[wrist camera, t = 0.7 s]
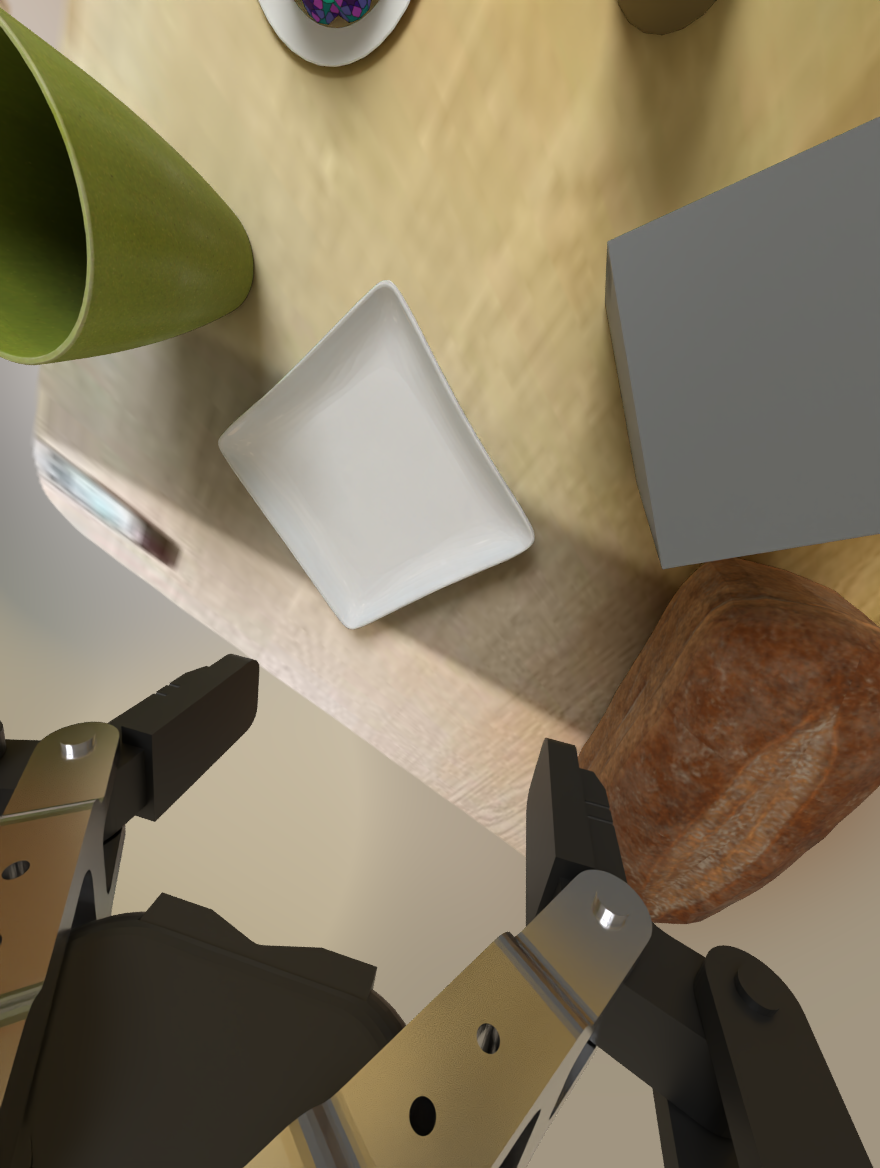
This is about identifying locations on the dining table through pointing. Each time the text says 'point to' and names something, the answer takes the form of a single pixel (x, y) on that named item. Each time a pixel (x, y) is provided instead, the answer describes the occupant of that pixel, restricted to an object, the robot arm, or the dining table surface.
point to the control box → (756, 357)
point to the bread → (738, 736)
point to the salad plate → (375, 468)
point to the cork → (663, 13)
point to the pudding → (333, 43)
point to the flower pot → (100, 219)
